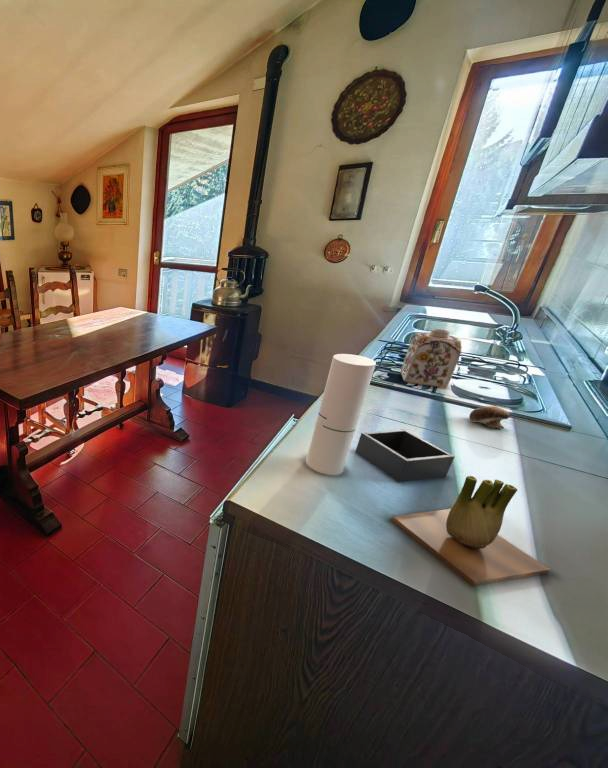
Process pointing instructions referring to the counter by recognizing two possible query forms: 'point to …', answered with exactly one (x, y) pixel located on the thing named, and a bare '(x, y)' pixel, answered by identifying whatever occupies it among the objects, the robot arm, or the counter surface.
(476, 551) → the board
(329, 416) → the cylindrical container
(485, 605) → the counter surface
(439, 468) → the bin
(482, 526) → the fennel bulb
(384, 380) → the counter surface
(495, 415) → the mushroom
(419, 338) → the decorative jar
